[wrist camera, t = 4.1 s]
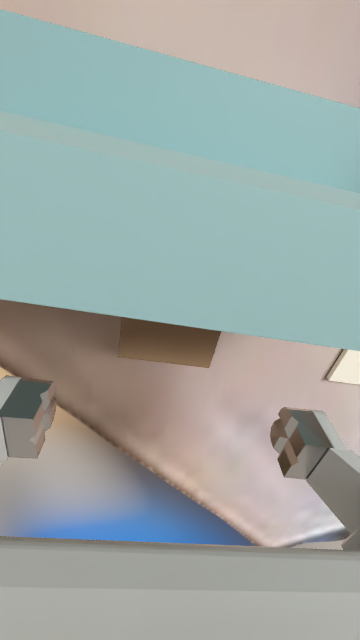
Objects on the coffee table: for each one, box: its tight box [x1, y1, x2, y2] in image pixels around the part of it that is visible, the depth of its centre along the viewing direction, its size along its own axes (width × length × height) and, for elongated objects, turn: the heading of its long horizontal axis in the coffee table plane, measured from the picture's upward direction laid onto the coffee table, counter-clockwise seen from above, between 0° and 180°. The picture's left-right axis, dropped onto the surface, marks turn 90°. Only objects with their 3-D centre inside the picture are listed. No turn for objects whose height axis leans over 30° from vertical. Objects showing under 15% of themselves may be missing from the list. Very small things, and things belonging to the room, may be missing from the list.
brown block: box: [118, 317, 221, 368], centre depth 16 cm, size 5×5×5 cm
